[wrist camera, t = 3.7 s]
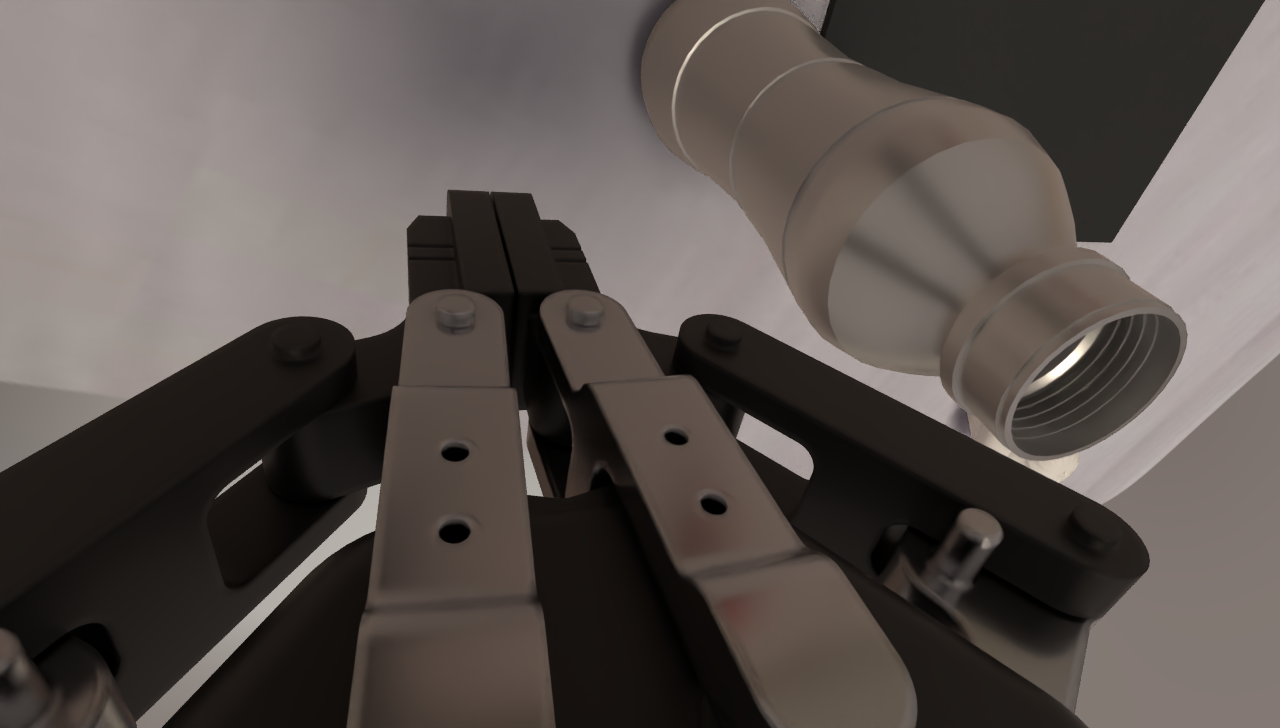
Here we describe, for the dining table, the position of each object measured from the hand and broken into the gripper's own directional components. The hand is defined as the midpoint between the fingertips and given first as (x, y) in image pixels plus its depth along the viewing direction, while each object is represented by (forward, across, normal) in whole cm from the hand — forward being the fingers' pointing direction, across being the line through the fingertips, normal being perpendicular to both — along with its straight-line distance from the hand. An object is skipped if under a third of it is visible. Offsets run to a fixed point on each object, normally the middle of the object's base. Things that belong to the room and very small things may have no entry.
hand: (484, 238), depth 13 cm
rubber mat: (+15, -26, 0) cm, 30 cm away
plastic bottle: (+15, -10, 0) cm, 18 cm away
